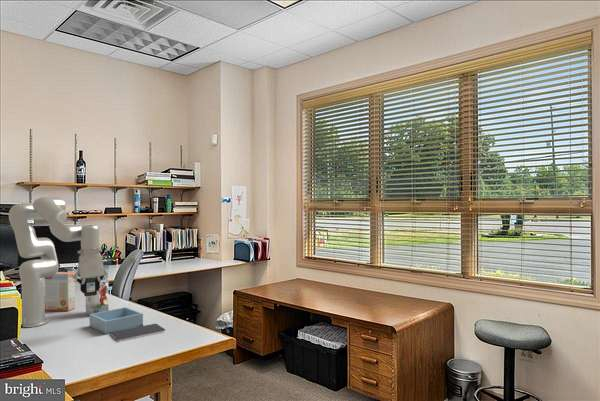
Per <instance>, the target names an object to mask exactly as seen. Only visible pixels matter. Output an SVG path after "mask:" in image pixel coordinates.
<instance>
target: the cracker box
mask: <svg viewBox="0 0 600 401" xmlns="http://www.w3.org/2000/svg"><path fill="white" fill-rule="evenodd" d="M74 274H75V272H74V271H58V272H57V273H56V274H55V275H53V276H49V277H44V289H45V312H49V311H50V312H70V311H72V310H74V309H75V308H76V306H75V279H73V278H72V277H73V276H74Z"/></svg>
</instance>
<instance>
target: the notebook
mask: <svg viewBox="0 0 600 401" xmlns="http://www.w3.org/2000/svg"><path fill="white" fill-rule="evenodd" d="M165 332H166V329H165V328H164V327H162V326H161V325H159V323H158V324H157V323H151V324H146V325H143V326H140V327H135V328H130V329H125V330H119V331H114V332H110V334H111V335H110V334H109V335H110V336H112V337H113V338H114V339H115V340H116V341H117V342H123V341H128V340H129V341H130V340H134V339H138V338H142V337H143V338H144V337H149V336H153V335H158V334H162V333H165Z"/></svg>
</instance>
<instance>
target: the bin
mask: <svg viewBox="0 0 600 401" xmlns="http://www.w3.org/2000/svg"><path fill="white" fill-rule="evenodd" d="M140 326H144V313H143V312H141V311H137V310H136V309H132V308H130V307H127V306H124V307H119V308H114V309H110V310H109V309H108V311H103V312H98V313H93V314H90V315H89V328H91V329H94V330H96V331H98V332H99V333H101V334H103V335H105V336H106V335H110V332H114V331H119V330H125V329H130V328H135V327H140Z"/></svg>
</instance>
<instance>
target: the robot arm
mask: <svg viewBox="0 0 600 401" xmlns="http://www.w3.org/2000/svg"><path fill="white" fill-rule="evenodd" d="M66 208H67V202H66V201H65V200H64V199H63V198H61V197H59V196H58V197H57V196H56V197H53V196H52V197H51V196H49V197H48V196H46V197H45V196H43V197H38V198H37V199H35V200H34V201H33V202H23V203H22V202H21V203H17V204H14V205H13V206H12V207H11V208H10V209H9V212H8V220H9V225H10V226H11V228H12V231H13V232H14V236H15V241H16V242H15V243H16V246H17V250H18V254H19V256H20V257H21V258H24V259H31V260H27V261H25V262H22V263H21V265H19V269H18V273H19V278H20V284H21V316H22V326H23V327H22V328H24V327H27V328H35V327H39V326H40V327H41V326H44V325H45V324H48V323H49V319H48V318H46V317H45V316H46V315H45V312H46V311H45V284H44V283H43V282H42V280H41V279H45V277H49V276H53V275H55V274H56V273H57V272H59V268H60V267H59V260H58V256H57V252H56V248H55V247H56V246H55V244H54V242H53V241H52V240H51V239H50V238H48V237H37V235H36V230H35V228H34V226H33V225H32V224H31V223H30V222H29V221H33V220H34V221H37V220H38V221H39V220H46V222H48V223H49V229H50V233H51V234H52V235H53V236H54V237H55V238H56V239H58V240H60V241H61V242H65V243H68V242H69V243H71V242H77V241H78V242H79V241H80V249H79V250H77V254H78V256H79V257H78V262H77V271H76V272H74V276H73V277H72V278H73V279H74V281H76V282H77V283H79V285H80V288H79V289H80V292H81V293H82V294H84V293H85V292H86V285H85V283H84V282H85V279H86V278H90V277H95V278H96V281H97V291H99V289H100V282H101V280H102V279H103V278H104V277H105V276H106V275H107V272H106V271H105V270H104V269H103V265H104V263H103V257H102V254H101V253H100V228H99V226H98V225H96V224H95V225H93V224H90V225H88V224H84V223H83V224H80V223H79V224H68V225H67V224H65V223H64V222H66V220H67V218H68V212H67V210H66ZM79 254H80V255H79ZM39 257H40V258H39ZM32 258H39V259H32Z"/></svg>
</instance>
